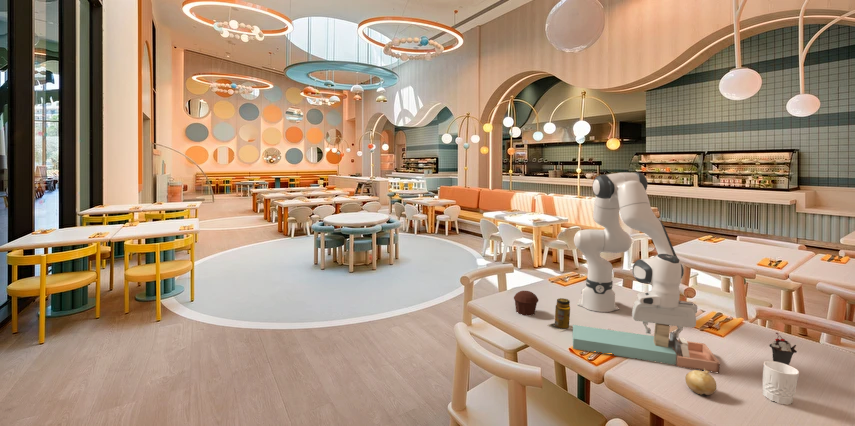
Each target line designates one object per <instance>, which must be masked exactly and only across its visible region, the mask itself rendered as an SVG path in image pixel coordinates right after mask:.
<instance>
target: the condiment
mask: <svg viewBox="0 0 855 426" xmlns="http://www.w3.org/2000/svg"><path fill="white" fill-rule="evenodd" d="M570 304H571V301H570V300H569V299H568V298H561V297H560V298H557V299H556V305H555V312H554V323H551V324H547V326H548V327H550V328H551V329H554V330H556V331H558V332H565V331H567V330H570V329H573V325H572V326H571V325H570V320H571V319H570V316H571V305H570Z"/></svg>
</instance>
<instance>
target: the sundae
mask: <svg viewBox="0 0 855 426" xmlns="http://www.w3.org/2000/svg"><path fill="white" fill-rule="evenodd" d="M775 334H776V335H777V338H775V339H774V340H775V341H772V343H770V344H769V345H768V347H770V348H771V351H772V361H775V362H780V363H784V364H787V365H789V366H790V363H791V361H792V357H793V355H794V354H795V353H796V354H797V353H798V351H797V350H796V347H797V345H796V344H794V345H793V346H792V344H791V342H789V341H788V340H786V339H785V338H783V337H782V336H781V335H780V334H779V332H775ZM779 337H780V338H779Z"/></svg>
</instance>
